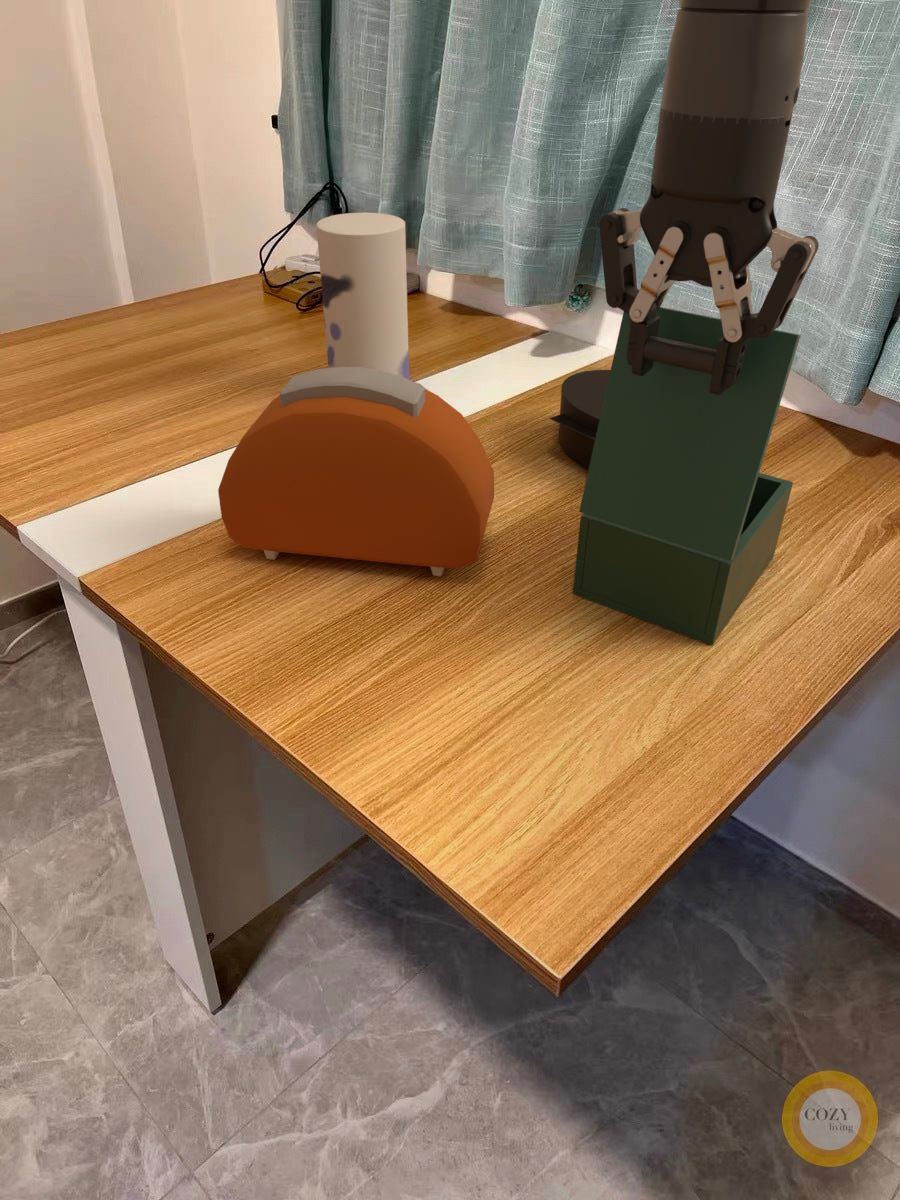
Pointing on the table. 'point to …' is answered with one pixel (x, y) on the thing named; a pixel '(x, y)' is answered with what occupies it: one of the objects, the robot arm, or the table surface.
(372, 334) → the container
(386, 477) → the orange toaster
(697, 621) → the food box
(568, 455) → the waffle maker
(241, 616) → the table surface
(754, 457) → the lid
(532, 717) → the table surface
